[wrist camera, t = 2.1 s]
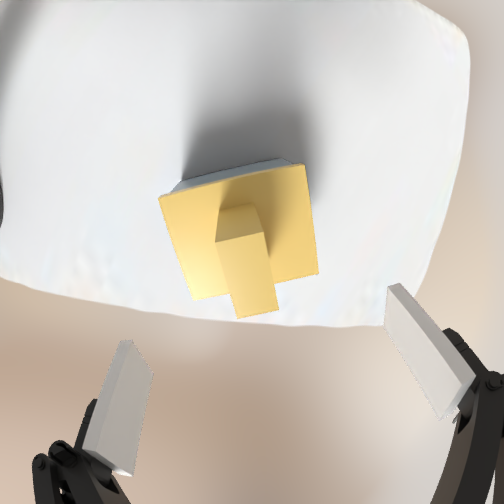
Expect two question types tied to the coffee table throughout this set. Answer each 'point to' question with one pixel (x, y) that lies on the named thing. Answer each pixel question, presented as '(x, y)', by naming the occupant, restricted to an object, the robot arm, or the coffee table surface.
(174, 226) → the lid
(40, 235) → the coffee table surface
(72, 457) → the robot arm
